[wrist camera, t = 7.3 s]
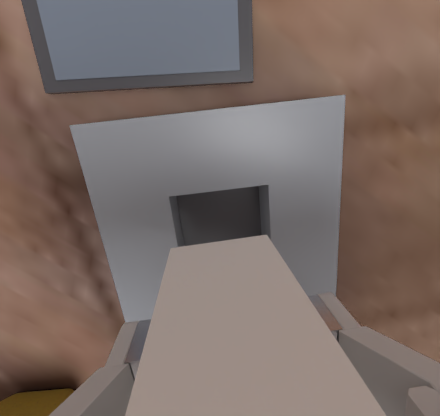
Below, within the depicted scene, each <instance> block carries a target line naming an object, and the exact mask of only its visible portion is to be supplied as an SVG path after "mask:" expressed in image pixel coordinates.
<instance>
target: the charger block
mask: <svg viewBox="0 0 440 416" xmlns="http://www.w3.org/2000/svg"><path fill="white" fill-rule="evenodd" d="M125 416H386V414H385V413H384V411H383V410H382V408H381V407H380V405H379V404H378V402H377V401H376V399H375V398H374V396H373V395H372V393H371V392H370V390H369V389H368V387H367V386H366V384H365V383H364V381H363V380H362V378H361V376H360V375H359V373H358V372H357V370H356V369H355V367H354V366H353V364H352V363H351V361H350V360H349V358H348V357H347V355H346V354H345V352H344V351H343V349H342V348H341V346H340V345H339V343H338V342H337V340H336V339H335V337H334V336H333V334H332V333H331V331H330V330H329V328H328V326H327V325H326V323H325V322H324V320H323V319H322V317H321V316H320V314H319V313H318V311H317V310H316V308H315V307H314V305H313V304H312V302H311V301H310V299H309V298H308V296H307V295H306V293H305V292H304V290H303V289H302V287H301V286H300V284H299V283H298V281H297V279H296V278H295V276H294V275H293V273H292V272H291V270H290V269H289V267H288V266H287V264H286V263H285V261H284V260H283V258H282V257H281V255H280V254H279V252H278V251H277V249H276V248H275V246H274V245H273V243H272V242H271V240H270V239H269V237H268V236H267V235H260V236H253V237H246V238H239V239H232V240H225V241H218V242H211V243H204V244H197V245H190V246H183V247H176V248H170V252H169V256H168V260H167V263H166V267H165V271H164V274H163V278H162V282H161V285H160V289H159V293H158V296H157V300H156V304H155V307H154V311H153V315H152V318H151V322H150V326H149V329H148V333H147V337H146V341H145V344H144V348H143V352H142V355H141V359H140V363H139V366H138V370H137V374H136V377H135V381H134V385H133V388H132V392H131V396H130V399H129V403H128V407H127V410H126V414H125Z"/></svg>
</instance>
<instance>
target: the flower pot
mask: <svg viewBox="0 0 440 416" xmlns="http://www.w3.org/2000/svg"><path fill="white" fill-rule="evenodd" d="M73 392H74V390H73V389H57V390H46V391H34V392H22V393H16V394H14V395H12V396H10V397H8V398H6V399H4V400H2V401H0V416H49V415H50V414H51V413H52V412H53V411H54V410H55V409H56V408H57V407H58V406H59V405H61V404H62V403H63V402H64V401H65V400H66V399H67V398H68V397H69V396H70V395H71V394H72V393H73Z"/></svg>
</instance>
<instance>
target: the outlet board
mask: <svg viewBox="0 0 440 416" xmlns="http://www.w3.org/2000/svg"><path fill="white" fill-rule="evenodd" d="M344 115H345V95H339V96H330V97H321V98H312V99H303V100H294V101H285V102H276V103H267V104H258V105H249V106H240V107H231V108H222V109H213V110H204V111H195V112H186V113H177V114H168V115H159V116H150V117H141V118H132V119H123V120H114V121H105V122H96V123H87V124H78V125H69V126H70V129H71V133H72V136H73V140H74V143H75V147H76V150H77V154H78V157H79V161H80V164H81V168H82V171H83V175H84V178H85V182H86V185H87V189H88V192H89V196H90V199H91V203H92V206H93V210H94V213H95V217H96V221H97V224H98V228H99V231H100V235H101V238H102V242H103V245H104V249H105V252H106V256H107V259H108V263H109V266H110V270H111V273H112V277H113V280H114V284H115V287H116V291H117V294H118V298H119V301H120V305H121V308H122V312H123V315H124V319H125V322H126V323H127V322H134V321H140V320H148V319H151V318H152V315H153V311H154V307H155V304H156V300H157V296H158V293H159V289H160V285H161V282H162V278H163V274H164V271H165V267H166V263H167V260H168V256H169V252H170V248H176V247H183V246H190V245H197V244H204V243H211V242H218V241H225V240H232V239H239V238H246V237H253V236H260V235H267V236H268V237H269V239H270V240H271V242H272V243H273V245H274V246H275V248H276V249H277V251H278V252H279V254H280V255H281V257H282V258H283V260H284V261H285V263H286V264H287V266H288V267H289V269H290V270H291V272H292V273H293V275H294V276H295V278H296V279H297V281H298V283H299V284H300V286H301V287H302V289H303V290H304V292H305V293H306V295H307V296H311V295H316V294H321V293H327V292H331V293H333V294H334V295H335V296H336V285H337V263H338V242H339V221H340V200H341V179H342V158H343V137H344Z"/></svg>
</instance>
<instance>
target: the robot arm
mask: <svg viewBox="0 0 440 416" xmlns="http://www.w3.org/2000/svg"><path fill="white" fill-rule="evenodd" d="M308 298H309V299H310V301H311V302H312V304H313V305H314V307H315V308H316V310H317V311H318V313H319V314H320V316H321V317H322V319H323V320H324V322H325V323H326V325H327V326H328V328H329V330H330V331H331V333H332V334H333V336H334V337H335V339H336V340H337V342H338V343H339V345H340V346H341V348H342V349H343V351H344V352H345V354H346V355H347V357H348V358H349V360H350V361H351V363H352V364H353V366H354V367H355V369H356V370H357V372H358V373H359V375H360V376H361V378H362V380H363V381H364V383H365V384H366V386H367V387H368V389H369V390H370V392H371V393H372V395H373V396H374V398H375V399H376V401H377V402H378V404H379V405H380V407H381V408H382V410H383V411H384V413H385V414H386V416H440V363H439V362H437V361H435V360H433V359H431V358H429V357H427V356H425V355H423V354H421V353H419V352H417V351H415V350H413V349H411V348H409V347H407V346H405V345H403V344H401V343H399V342H397V341H395V340H393V339H391V338H389V337H387V336H385V335H383V334H380V333H378V332H376V331H374V330H372V329H370V328H368V327H366V326H365V327H361V326H360V325H359V324H358V322H357V321H356V320H355V319H354V318H353V316H352V315H351V314H350V313H349V312H348V311H347V309H346V308H345V307H344V306H343V305H342V303H341V302H340V301H339V300H338V299H337V298H336V296H335V295H334V294H333V293H331V292H327V293H321V294H316V295H311V296H308ZM150 322H151V319H148V320H140V321H134V322H127V323H124V324H123V325H122V327H121V329H120V331H119V334H118V336H117V338H116V341H115V343H114V346H113V348H112V350H111V353H110V355H109V357H108V360H107V362H106V364H105V367H102V368H99V369H98V370H97V371H96V372H95V373H93V374H92V375H91V376H90V377H89V378H88V379H87V380H86V381H85V382H84V383H83V384H82V385H81V386H80V387H79V388H78V389H76V390H75V391H74V392H73V393H72V394H71V395H70V396H69V397H68V398H67V399H66V400H65V401H64V402H63V403H62V404H61V405H59V406H58V407H57V408H56V409H55V410H54V411H53V412H52V413H51V414H50V415H49V416H125V414H126V410H127V407H128V403H129V399H130V396H131V392H132V388H133V385H134V381H135V377H136V374H137V370H138V366H139V363H140V359H141V355H142V352H143V348H144V344H145V341H146V337H147V333H148V329H149V326H150Z"/></svg>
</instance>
